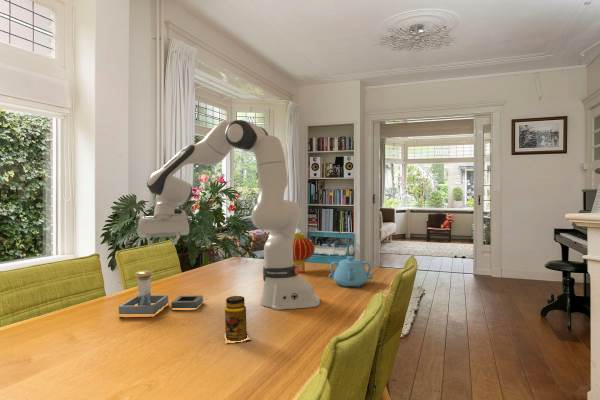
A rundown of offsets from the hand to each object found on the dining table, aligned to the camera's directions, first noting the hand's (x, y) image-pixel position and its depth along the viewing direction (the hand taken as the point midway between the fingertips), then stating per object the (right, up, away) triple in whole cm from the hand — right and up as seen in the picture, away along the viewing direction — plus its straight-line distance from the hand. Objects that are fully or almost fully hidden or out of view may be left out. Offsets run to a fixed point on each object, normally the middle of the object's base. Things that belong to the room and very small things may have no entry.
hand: (162, 244), depth 155 cm
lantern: (+54, -20, +47) cm, 75 cm away
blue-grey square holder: (+13, -22, -11) cm, 28 cm away
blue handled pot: (+78, -20, +17) cm, 82 cm away
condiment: (+37, -23, -42) cm, 60 cm away
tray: (-1, -22, -15) cm, 27 cm away
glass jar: (-1, -21, -15) cm, 26 cm away
